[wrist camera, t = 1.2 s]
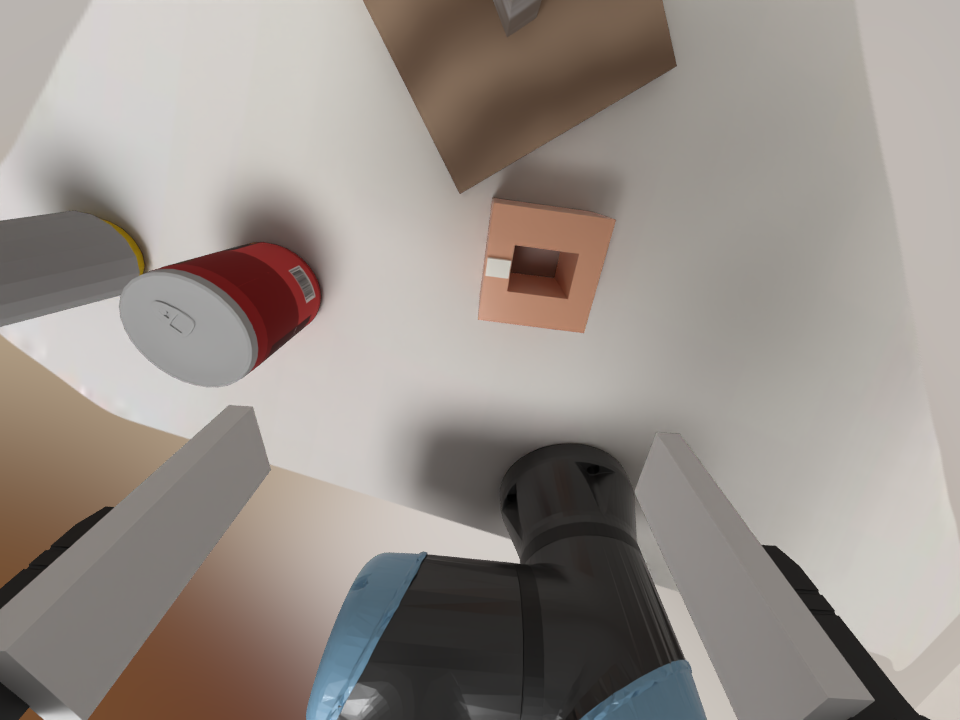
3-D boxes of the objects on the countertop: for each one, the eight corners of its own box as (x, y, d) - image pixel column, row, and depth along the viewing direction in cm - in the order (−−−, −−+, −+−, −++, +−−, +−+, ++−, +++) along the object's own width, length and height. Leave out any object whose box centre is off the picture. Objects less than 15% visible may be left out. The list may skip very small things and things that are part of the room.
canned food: (247, 221, 29) (126, 243, 19) (338, 274, 31) (269, 320, 21) (223, 296, 32) (108, 348, 22) (307, 341, 34) (234, 407, 24)
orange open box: (591, 211, 28) (617, 220, 23) (567, 306, 32) (585, 335, 26) (492, 197, 28) (493, 203, 22) (479, 295, 32) (477, 321, 26)
